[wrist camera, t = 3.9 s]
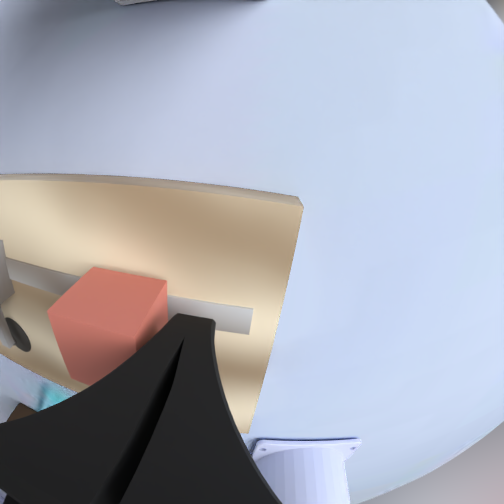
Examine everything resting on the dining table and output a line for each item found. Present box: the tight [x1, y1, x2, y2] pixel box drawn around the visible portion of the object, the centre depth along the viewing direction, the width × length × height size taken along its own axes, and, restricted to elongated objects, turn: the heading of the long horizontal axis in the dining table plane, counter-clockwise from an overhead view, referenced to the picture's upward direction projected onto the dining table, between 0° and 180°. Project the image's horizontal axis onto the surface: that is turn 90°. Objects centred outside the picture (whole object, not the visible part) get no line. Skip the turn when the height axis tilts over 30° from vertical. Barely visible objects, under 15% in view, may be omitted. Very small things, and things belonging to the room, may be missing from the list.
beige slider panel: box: [0, 174, 304, 434], centre depth 10 cm, size 13×20×5 cm, turn 82°
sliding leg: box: [47, 267, 168, 386], centre depth 9 cm, size 7×3×3 cm, turn 172°
